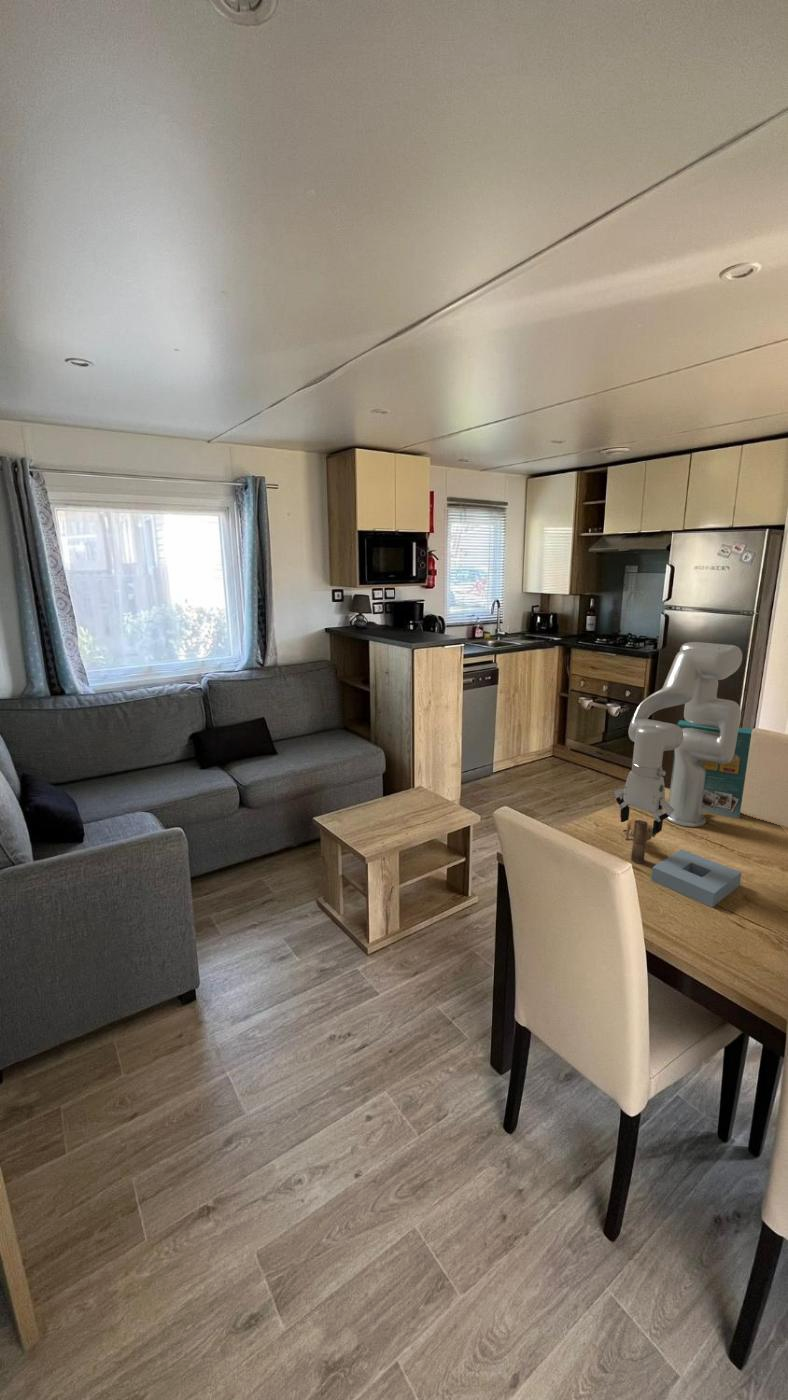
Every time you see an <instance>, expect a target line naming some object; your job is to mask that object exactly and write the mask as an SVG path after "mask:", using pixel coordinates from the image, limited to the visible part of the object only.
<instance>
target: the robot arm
mask: <svg viewBox="0 0 788 1400" xmlns="http://www.w3.org/2000/svg"><path fill="white" fill-rule="evenodd" d="M742 661H743V651H742V650H741V648H740V647H739V646H736V645H734V644H724V643H723V644H721V643H711V642H702V641H701V642H699V641H692V642H691V641H690V642H685V643H684V644H682V645H681V647H680V648H679V652H677V653H676V655H675V657H674V659H673V662H672V664H671V667H670V669H669V671H668V673H667V676H666V679H665V681H664V684H663V686H662V688H661V689H659V690H657V691H655V692H653V693H652V694H650V695H649V696H647V697H646V698H645V699H643V700H642V701H641V702H640V703H639V704H638V706H637V707H636V709H635V711H634V713H633V716H632V717H631V721H630V723H629V727H628V732H627V733H628V737H629V739H630V741H632V742H634V745H633V754H632V755H633V756H632V763H631V770H630V771H629V772H628V775H627V778H626V781H625V786H624V788H619V789H615V790H614V791H613V793H614V796H615V798H616V799H615V800H616V802H617V803H618V807H619V808H620V814H619V817H620V822H621V823H624V822H628V821H629V820H630V807H632V808H636V809H638V810H641V811H645V812H647V813H651V814H652V815H653V817H654V819H655V820H654V821H653V824H652V828H653V832H652V833H653V834H656V835H658V834H659V833H661V832H662V829H663V823H664V822H663V821H664V820H667V821H668V822H671V823H673V824H675V825H678V826H683V827H694V828H695V827H696V828H697V827H701V826H703V825H705V824H706V820H707V819H706V817H705V816H704V815H703V813H702V812H703V811H702V808H704V807H705V805H704V803H703V795H704V787H705V779H706V769H705V766H704V764H703V763H702V761H701V760H705V761H709V762H714V763H719V764H727V763H729V762H731V760H732V759H733V756H734V753H735V748H736V742H737V736H738V730H739V728H740V723H741V714H742V712H741V711H742V710H741V706H740V705H739V703H737V702H736V701H734V700H730V699H724V698H718V696H717V695H718V688H719V681H722V680H725V679H727V678H729V677H730V676H731V675H734V673H736V672H737V671H738V670H739V668H740V667H741V664H742ZM680 705H684V709H683V718H684V721H687V722H689V723H691V724H695V725H700V726H706V727H711V728H717V729H719V731H720V733H715V732H710V731H705V730H700V729H694V728H683V729H681V728H680V727H679V726H677V724H674V723H670V722H663V721H661V720H655V719H649V717H650V716H652V714H653V713H655V712H658V711H660V710H664V709H667V708H672V707H676V706H680ZM673 750H674V751H675V764H674V774H673V783H672V792H671V800H670V805H669V802H667V801H666V800H665V796H666V795H665V794H666V793H665V789H666V788H665V787H666V785H665V778H664V776H666V773H667V772H666V771H665V770H663V760H664V759H663V757H664V752H666V751H673ZM622 794H623V797H622ZM662 810H664V812H663V811H662Z"/></svg>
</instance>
